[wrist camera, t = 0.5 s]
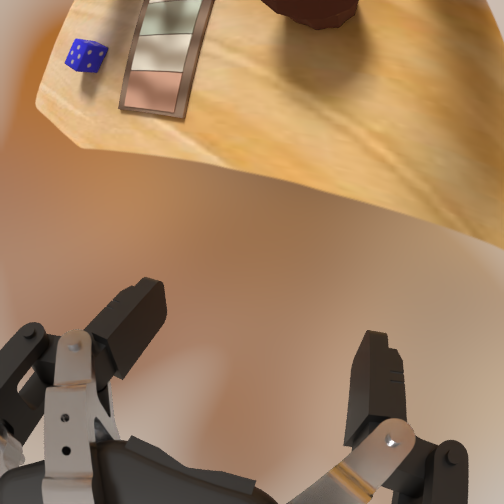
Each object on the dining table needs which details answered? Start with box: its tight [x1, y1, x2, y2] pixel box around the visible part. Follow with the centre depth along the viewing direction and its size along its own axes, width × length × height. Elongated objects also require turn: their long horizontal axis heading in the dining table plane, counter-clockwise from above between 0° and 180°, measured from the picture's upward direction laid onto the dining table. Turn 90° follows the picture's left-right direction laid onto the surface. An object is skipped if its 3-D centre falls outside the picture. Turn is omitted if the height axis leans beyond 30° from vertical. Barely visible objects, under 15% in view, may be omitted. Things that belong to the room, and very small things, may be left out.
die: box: [65, 39, 108, 73], centre depth 37 cm, size 5×5×5 cm
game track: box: [118, 0, 214, 118], centre depth 33 cm, size 25×13×1 cm, turn 166°
